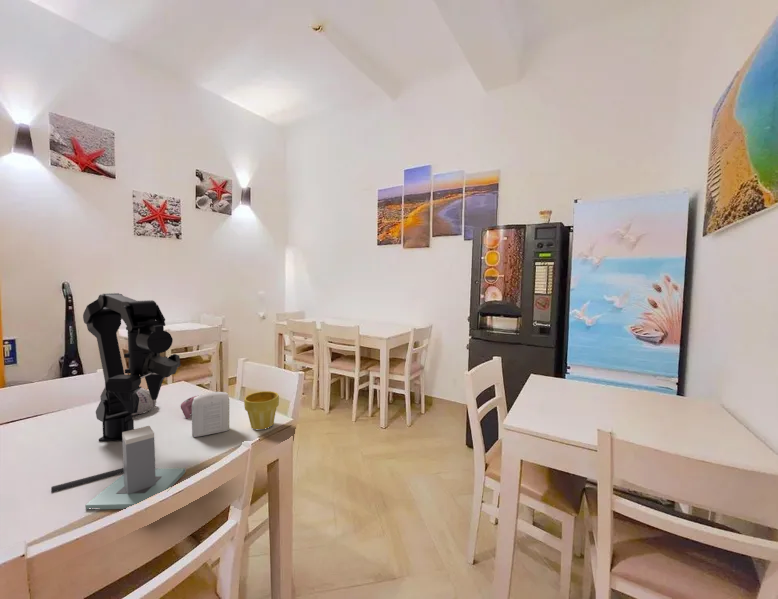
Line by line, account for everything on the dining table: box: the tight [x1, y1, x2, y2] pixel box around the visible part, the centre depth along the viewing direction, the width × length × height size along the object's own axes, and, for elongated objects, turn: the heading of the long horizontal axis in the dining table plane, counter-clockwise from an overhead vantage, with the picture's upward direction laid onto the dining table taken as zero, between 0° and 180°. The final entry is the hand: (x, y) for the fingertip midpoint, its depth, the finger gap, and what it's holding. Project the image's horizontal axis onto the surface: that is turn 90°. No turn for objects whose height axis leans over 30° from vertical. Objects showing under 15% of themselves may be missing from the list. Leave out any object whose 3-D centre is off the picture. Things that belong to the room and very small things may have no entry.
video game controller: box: [180, 394, 199, 420], centre depth 118 cm, size 10×5×7 cm, turn 145°
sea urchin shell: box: [132, 387, 157, 417], centre depth 119 cm, size 13×14×8 cm
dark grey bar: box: [50, 467, 124, 493], centre depth 80 cm, size 15×1×1 cm, turn 128°
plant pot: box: [243, 390, 280, 430], centre depth 109 cm, size 10×10×10 cm
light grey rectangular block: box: [121, 425, 156, 494], centre depth 76 cm, size 5×5×12 cm
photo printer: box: [191, 391, 230, 438], centre depth 104 cm, size 10×4×12 cm, turn 123°
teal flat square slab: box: [85, 467, 186, 510], centre depth 76 cm, size 13×13×1 cm
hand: (143, 405), depth 91 cm, fingers open, 9 cm apart
